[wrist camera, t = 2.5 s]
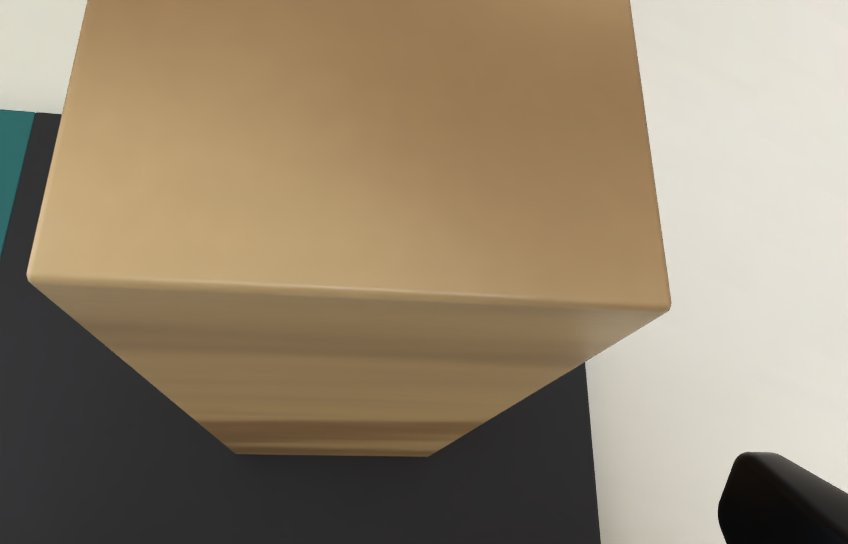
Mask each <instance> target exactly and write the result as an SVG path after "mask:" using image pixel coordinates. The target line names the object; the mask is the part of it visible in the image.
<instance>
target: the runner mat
mask: <svg viewBox="0 0 848 544" xmlns="http://www.w3.org/2000/svg"><path fill="white" fill-rule="evenodd" d="M61 117H62V114H50V113H34V112H25V111H12V110H0V544H601V542H600V530H599V518H598V507H597V495H596V484H595V472H594V461H593V449H592V438H591V426H590V415H589V403H588V392H587V380H586V369H585V362H584V363H582V364H580V365H579V366H577V367H576V368H574V369H572V370H571V371H569V372H567V373H566V374H564V375H562V376H561V377H559V378H557V379H556V380H554V381H552V382H551V383H549V384H547V385H546V386H544V387H543V388H541V389H539V390H538V391H536V392H534V393H533V394H531V395H529V396H528V397H526V398H524V399H523V400H521V401H519V402H518V403H516V404H515V405H513V406H511V407H510V408H508V409H506V410H505V411H503V412H501V413H500V414H498V415H496V416H495V417H493V418H491V419H490V420H488V421H486V422H485V423H483V424H482V425H480V426H478V427H477V428H475V429H473V430H472V431H470V432H468V433H467V434H465V435H463V436H462V437H460V438H458V439H457V440H455V441H454V442H452V443H450V444H449V445H447V446H445V447H444V448H442V449H440V450H439V451H437V452H435V453H434V454H432V455H430V456H428V457H410V456H336V455H261V454H235V453H234V452H233V451H231V450H230V449H229V448H228V447H227V446H225V445H224V444H223V443H222V442H221V441H219V440H218V439H217V438H216V437H215V436H213V435H212V434H211V433H210V432H209V431H207V430H206V429H205V428H204V427H203V426H201V425H200V424H199V423H198V422H197V421H195V420H194V419H193V418H192V417H191V416H189V415H188V414H187V413H186V412H185V411H183V410H182V409H181V408H180V407H179V406H177V405H176V404H175V403H174V402H173V401H171V400H170V399H169V398H168V397H167V396H165V395H164V394H163V393H162V392H161V391H159V390H158V389H157V388H156V387H155V386H153V385H152V384H151V383H150V382H149V381H147V380H146V379H145V378H144V377H143V376H141V375H140V374H139V373H138V372H137V371H135V370H134V369H133V368H132V367H131V366H129V365H128V364H127V363H126V362H125V361H123V360H122V359H121V358H120V357H119V356H117V355H116V354H115V353H114V352H113V351H111V350H110V349H109V348H108V347H107V346H105V345H104V344H103V343H102V342H101V341H99V340H98V339H97V338H96V337H95V336H93V335H92V334H91V333H90V332H89V331H87V330H86V329H85V328H84V327H83V326H81V325H80V324H79V323H78V322H77V321H75V320H74V319H73V318H72V317H71V316H69V315H68V314H67V313H66V312H65V311H63V310H62V309H61V308H60V307H59V306H57V305H56V304H55V303H54V302H53V301H51V300H50V299H49V298H48V297H47V296H45V295H44V294H43V293H42V292H40V291H39V290H38V289H37V288H36V287H34V286H33V285H32V284H31V283H30V282H28V278H27V269H28V264H29V260H30V255H31V251H32V246H33V242H34V238H35V233H36V229H37V224H38V220H39V215H40V211H41V206H42V202H43V197H44V193H45V188H46V184H47V179H48V175H49V171H50V166H51V162H52V157H53V153H54V148H55V144H56V139H57V135H58V130H59V126H60V121H61Z"/></svg>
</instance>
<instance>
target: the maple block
mask: <svg viewBox="0 0 848 544" xmlns="http://www.w3.org/2000/svg"><path fill="white" fill-rule="evenodd" d="M27 278H28V282H30V283H31V284H32V285H33V286H34V287H36V288H37V289H38V290H39V291H40V292H42V293H43V294H44V295H45V296H47V297H48V298H49V299H50V300H51V301H53V302H54V303H55V304H56V305H57V306H59V307H60V308H61V309H62V310H63V311H65V312H66V313H67V314H68V315H69V316H71V317H72V318H73V319H74V320H75V321H77V322H78V323H79V324H80V325H81V326H83V327H84V328H85V329H86V330H87V331H89V332H90V333H91V334H92V335H93V336H95V337H96V338H97V339H98V340H99V341H101V342H102V343H103V344H104V345H105V346H107V347H108V348H109V349H110V350H111V351H113V352H114V353H115V354H116V355H117V356H119V357H120V358H121V359H122V360H123V361H125V362H126V363H127V364H128V365H129V366H131V367H132V368H133V369H134V370H135V371H137V372H138V373H139V374H140V375H141V376H143V377H144V378H145V379H146V380H147V381H149V382H150V383H151V384H152V385H153V386H155V387H156V388H157V389H158V390H159V391H161V392H162V393H163V394H164V395H165V396H167V397H168V398H169V399H170V400H171V401H173V402H174V403H175V404H176V405H177V406H179V407H180V408H181V409H182V410H183V411H185V412H186V413H187V414H188V415H189V416H191V417H192V418H193V419H194V420H195V421H197V422H198V423H199V424H200V425H201V426H203V427H204V428H205V429H206V430H207V431H209V432H210V433H211V434H212V435H213V436H215V437H216V438H217V439H218V440H219V441H221V442H222V443H223V444H224V445H225V446H227V447H228V448H229V449H230V450H231V451H233V452H234V453H235V454H261V455H336V456H410V457H428V456H430V455H432V454H434V453H435V452H437V451H439V450H440V449H442V448H444V447H445V446H447V445H449V444H450V443H452V442H454V441H455V440H457V439H458V438H460V437H462V436H463V435H465V434H467V433H468V432H470V431H472V430H473V429H475V428H477V427H478V426H480V425H482V424H483V423H485V422H486V421H488V420H490V419H491V418H493V417H495V416H496V415H498V414H500V413H501V412H503V411H505V410H506V409H508V408H510V407H511V406H513V405H515V404H516V403H518V402H519V401H521V400H523V399H524V398H526V397H528V396H529V395H531V394H533V393H534V392H536V391H538V390H539V389H541V388H543V387H544V386H546V385H547V384H549V383H551V382H552V381H554V380H556V379H557V378H559V377H561V376H562V375H564V374H566V373H567V372H569V371H571V370H572V369H574V368H576V367H577V366H579V365H580V364H582V363H584V362H585V361H587V360H589V359H590V358H592V357H594V356H595V355H597V354H599V353H600V352H602V351H604V350H605V349H607V348H608V347H610V346H612V345H613V344H615V343H617V342H618V341H620V340H622V339H623V338H625V337H627V336H628V335H630V334H632V333H633V332H635V331H637V330H638V329H640V328H641V327H643V326H645V325H646V324H648V323H650V322H651V321H653V320H655V319H656V318H658V317H660V316H661V315H663V314H665V313H666V312H668V311H669V310H670V307H671V297H670V290H669V282H668V275H667V268H666V260H665V253H664V246H663V239H662V231H661V224H660V217H659V210H658V202H657V195H656V188H655V180H654V173H653V166H652V159H651V151H650V144H649V137H648V130H647V122H646V115H645V108H644V101H643V93H642V86H641V79H640V71H639V64H638V57H637V50H636V42H635V35H634V28H633V21H632V13H631V6H630V0H88V1H87V5H86V10H85V14H84V19H83V23H82V28H81V32H80V37H79V41H78V45H77V50H76V54H75V59H74V63H73V68H72V72H71V77H70V81H69V86H68V90H67V95H66V99H65V104H64V108H63V112H62V117H61V121H60V126H59V130H58V135H57V139H56V144H55V148H54V153H53V157H52V162H51V166H50V171H49V175H48V179H47V184H46V188H45V193H44V197H43V202H42V206H41V211H40V215H39V220H38V224H37V229H36V233H35V238H34V242H33V246H32V251H31V255H30V260H29V264H28V269H27Z"/></svg>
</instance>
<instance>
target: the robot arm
mask: <svg viewBox="0 0 848 544" xmlns="http://www.w3.org/2000/svg"><path fill="white" fill-rule="evenodd" d="M718 520H719V524H720V528H721V530H722V533H723V536H724V538H725V541H726V543H727V544H848V494H847V493H845V492H844V491H842V490H840V489H838V488H837V487H835V486H833V485H832V484H830V483H828V482H826V481H825V480H823V479H821V478H819V477H818V476H816V475H814V474H812V473H811V472H809V471H807V470H805V469H804V468H802V467H800V466H798V465H797V464H795V463H793V462H791V461H790V460H788V459H786V458H784V457H783V456H781V455H779V454H776V453H770V452H745V453H742V454H740V455H739V456H738V457H737V458H736V459H735V461H734V464H733V466H732V469H731V472H730V474H729V477H728V480H727V483H726V485H725V488H724V491H723V493H722V496H721V499H720V501H719V505H718Z"/></svg>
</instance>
